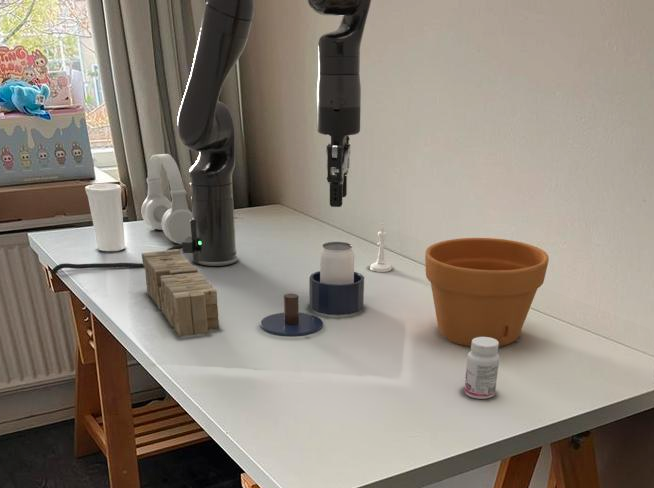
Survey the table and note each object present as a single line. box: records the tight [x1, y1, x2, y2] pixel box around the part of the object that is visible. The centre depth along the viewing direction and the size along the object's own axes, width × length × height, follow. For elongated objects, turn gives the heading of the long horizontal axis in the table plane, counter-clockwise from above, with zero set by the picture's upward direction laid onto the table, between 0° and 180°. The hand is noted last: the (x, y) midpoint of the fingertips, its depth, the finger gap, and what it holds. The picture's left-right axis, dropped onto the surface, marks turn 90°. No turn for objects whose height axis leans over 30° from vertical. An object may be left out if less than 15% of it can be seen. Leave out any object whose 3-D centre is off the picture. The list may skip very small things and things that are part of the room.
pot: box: [308, 270, 365, 316], centre depth 150 cm, size 10×10×6 cm
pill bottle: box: [463, 337, 500, 400], centre depth 117 cm, size 5×5×8 cm
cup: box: [84, 183, 126, 252], centre depth 182 cm, size 8×8×14 cm
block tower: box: [141, 249, 220, 337], centre depth 147 cm, size 8×8×29 cm
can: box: [319, 241, 355, 285], centre depth 149 cm, size 6×6×12 cm
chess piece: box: [369, 222, 393, 273], centre depth 174 cm, size 5×5×10 cm
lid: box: [259, 293, 324, 337], centre depth 141 cm, size 11×11×6 cm
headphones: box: [140, 153, 193, 245], centre depth 193 cm, size 20×8×19 cm, turn 31°
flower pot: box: [424, 237, 550, 348], centre depth 138 cm, size 21×21×15 cm
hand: (338, 201), depth 142 cm, fingers open, 8 cm apart
